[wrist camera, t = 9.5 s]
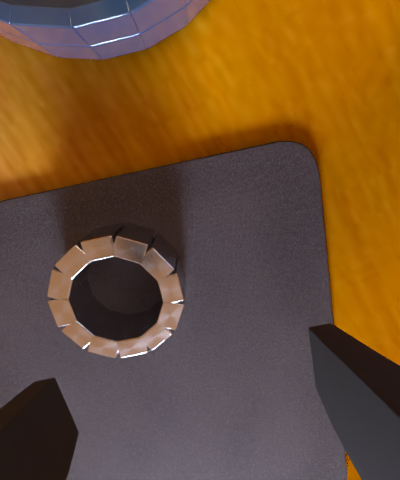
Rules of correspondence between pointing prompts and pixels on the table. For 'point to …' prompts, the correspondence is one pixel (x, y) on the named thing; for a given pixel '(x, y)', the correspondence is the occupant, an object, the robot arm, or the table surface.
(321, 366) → the robot arm
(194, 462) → the mouse pad
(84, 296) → the steel ring
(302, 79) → the table surface
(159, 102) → the table surface
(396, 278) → the table surface
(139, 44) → the bowl
